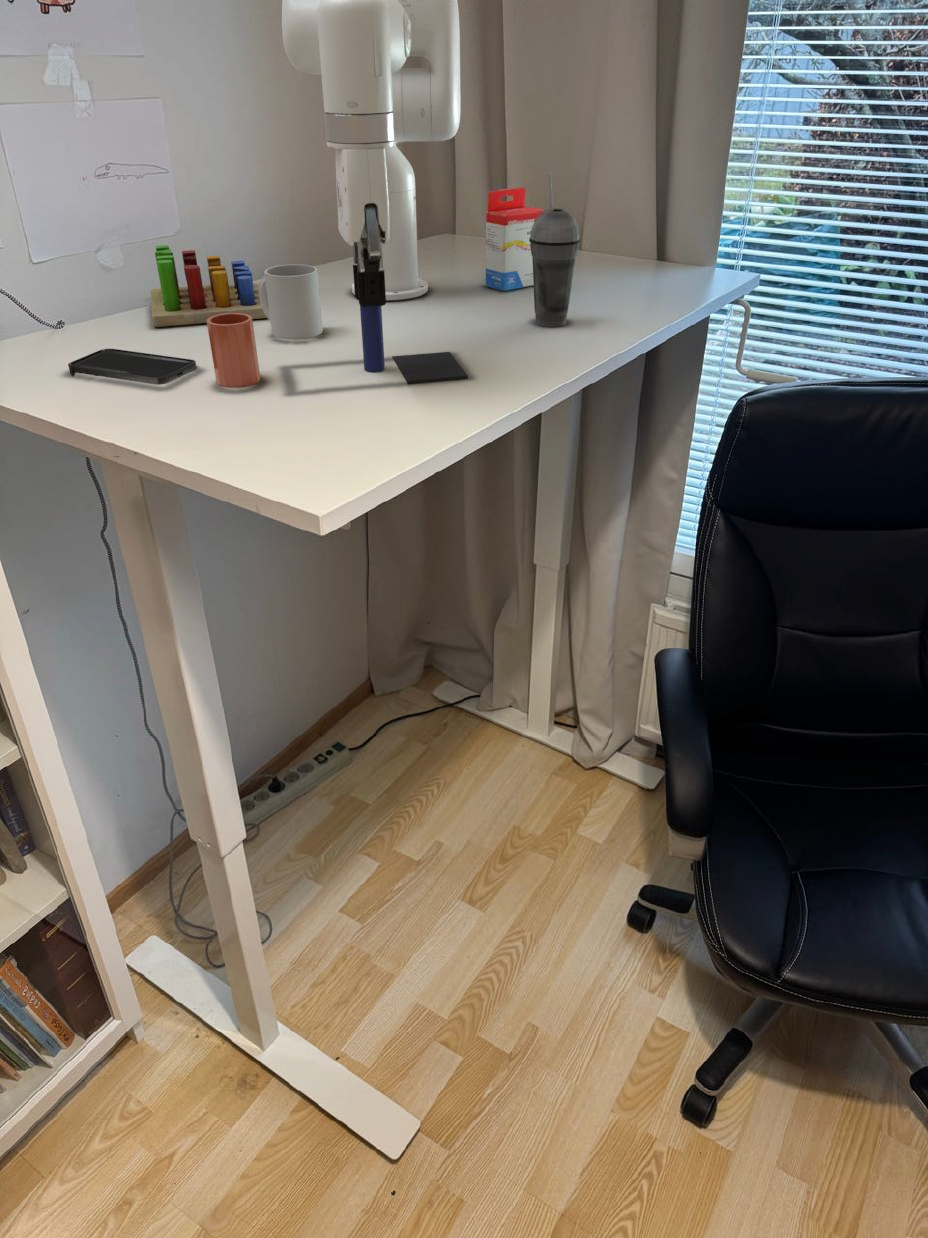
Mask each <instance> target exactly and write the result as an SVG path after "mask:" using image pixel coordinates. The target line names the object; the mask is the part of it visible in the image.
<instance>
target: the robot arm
mask: <svg viewBox="0 0 928 1238" xmlns="http://www.w3.org/2000/svg"><path fill="white" fill-rule="evenodd" d="M460 30H461V29H460V12H459V3H458V0H281V33H282V42H283V43H282V44H283V47H284V52H285V55H286V57H287V59H288V61H289V63H290V64H291V66H292V67H293V68H294V69H296V70H297V72H299V73H303V74H306V75H320V76H321V86H322V100H323V111H324V121H325V122H324V124H325V138H326V146H327V148H332V149H335V183H336V185H335V186H336V203H337V226H338V233H339V235H340V236H341V238H342V239H343V240H344V242H345V243H346V244H347V245H348V246H350V247H352V258H353V264H352V272H353V273H352V275H353V283H351V293H352V294H353V295H354V297H355V299H356V300H357V301H358V304H359V307H360V306H361V307H370V306H381V307H383V306H386V303H387V301H402V300H410V299H415V298H418V297H421V296H423V295H425V294H427V292H428V290H429V284H428V282H427V281H426V280H425V279H422V278H419V261H418V260H419V259H418V227H417V226H418V225H417V224H418V223H417V199H416V198H417V193H416V177H415V176H416V175H415V172H414V169H413V166H412V164H411V162H410V161H409V160H408V159H407V158H406V157H405V155H404V154H403V153H402V151H401V150H400V149H399V148H398V146H397V144H399V143H405V142H445V141H448V140H450V139H453V138H454V137H455V136H456V135H457V133H458V131H459V128H460V122H461V113H462V111H461V103H462V102H461V101H462V100H461V99H462V96H461V95H462V94H461V38H460V37H461V36H460V35H461V33H460V32H461V31H460ZM410 57H412V58H413V57H421V58H424V59H426V60H427V61H428V63H429V65H430V67H404V65H405V63H406V61H407V58H410ZM357 257H358V260H359V271H358V269H357Z"/></svg>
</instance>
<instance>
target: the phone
mask: <svg viewBox="0 0 928 1238" xmlns="http://www.w3.org/2000/svg"><path fill="white" fill-rule="evenodd" d="M67 366H68V370H69V373H70V375H73V376H75V375H76V373H78V374H85V375H90V376H91V375H92V376H98V377H105V378H112V379H119V380H125V381H132V382H138V383H144V384H151V385H164V384H167V383H169V382H172V381H173V380H175V379H177V378H179V377H182V376H184V375H186V374H187V373H190V372H191V371H193V370H195V369H196V368H197V362H196V360H195V359H191V358H182V357H175V356H167V355H160V354H154V353H147V352H141V351H140V352H139V351H132V350H126V349H125V350H124V349H118V348H102V349H100V350H96V351H94V352H91V353H90V354H88V355H87V354H86V355H85V356H82V357H80V358H77V359H76V360H73V361H71V362H68V364H67Z"/></svg>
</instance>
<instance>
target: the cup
mask: <svg viewBox="0 0 928 1238" xmlns="http://www.w3.org/2000/svg"><path fill="white" fill-rule="evenodd" d="M263 272H264V276H263V277H262V279H261V280H260V281H259V282H260V286H259V296H260V302H261V306H262V309H263V311H264V314H265V315H266V317H267V318H266V319H268V320H269V321H270V322H269V323H270V327H271V328H270V330H271V334H272V335H273V336H274V337H275V338H278V339H285V340H303V339H304V340H305V339H309V338H314V337H318V336H319V335H321V334H322V333H323V332H324V331H323V330H324V328H323V327H324V325H323V316H322V303H321V294H320V283H319V273H318V272H319V271H318V267H315V266H313V265H310V264H309V265H308V264H295V263H293V264H281V265H275V266H270V267H268V268H266V269H265V270H264V271H263Z"/></svg>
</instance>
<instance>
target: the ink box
mask: <svg viewBox="0 0 928 1238" xmlns="http://www.w3.org/2000/svg"><path fill="white" fill-rule="evenodd" d="M526 192H527V190H526V187H525V186H522V187H512V188H504V189H497V190H490V191H488V192H487V207H486V213H485V286H486V287H487V288H491V289H495V290H498V291H502V292H506V291H511V290H517V289H521V288H522V289H523V288H527V287H531V286H534V282H533V258H532V254H531V247H530V242H529V239H530V236H531V230H532V227H533V224H534V222H535V220H536V219H537V218H538V216H540V215H541V214H542V213H543V212H544V210H543V209H541V208H537V207H532V206H525V204H526V203H525V202H526ZM506 196H508V197H512V199H511V200H505V201H501V198H506Z"/></svg>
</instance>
